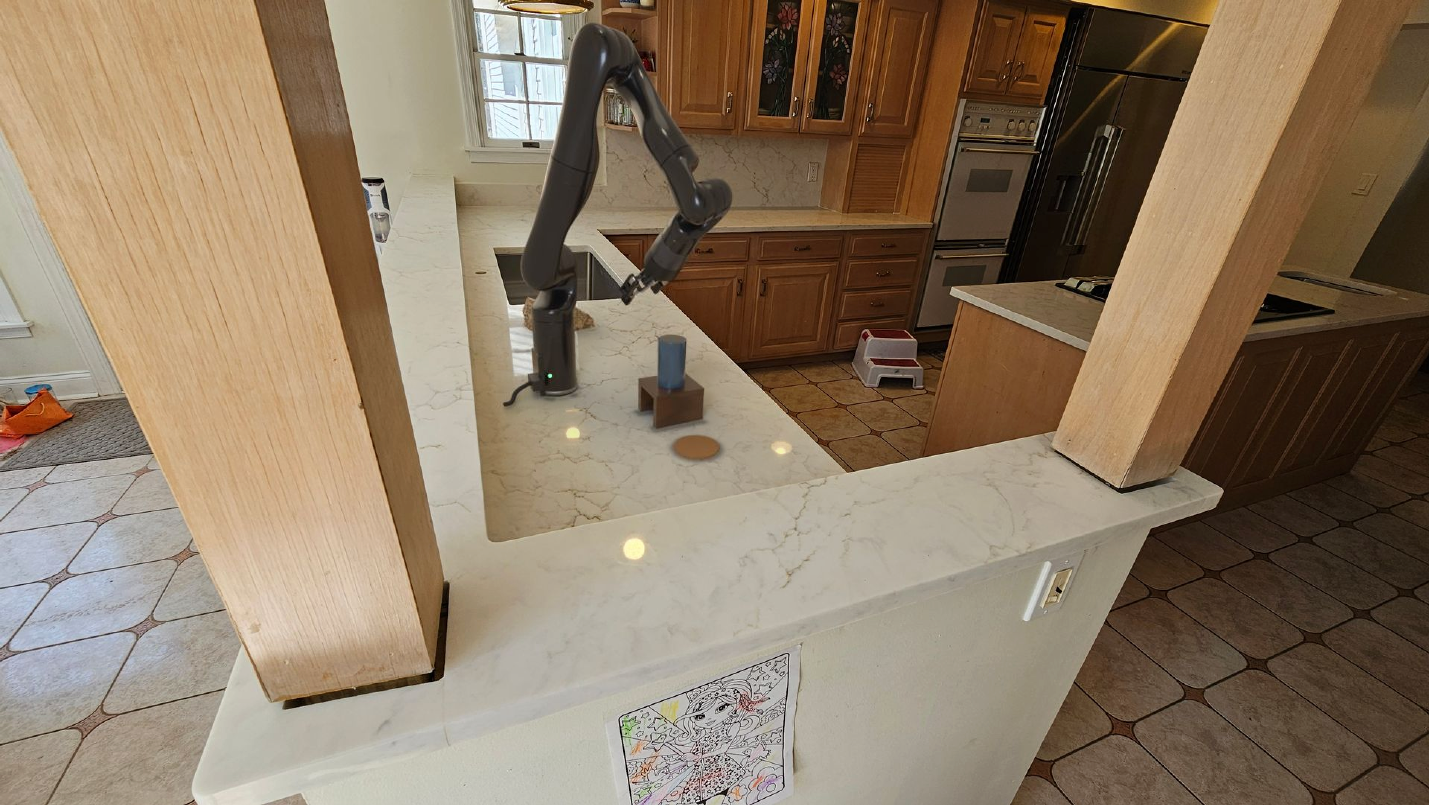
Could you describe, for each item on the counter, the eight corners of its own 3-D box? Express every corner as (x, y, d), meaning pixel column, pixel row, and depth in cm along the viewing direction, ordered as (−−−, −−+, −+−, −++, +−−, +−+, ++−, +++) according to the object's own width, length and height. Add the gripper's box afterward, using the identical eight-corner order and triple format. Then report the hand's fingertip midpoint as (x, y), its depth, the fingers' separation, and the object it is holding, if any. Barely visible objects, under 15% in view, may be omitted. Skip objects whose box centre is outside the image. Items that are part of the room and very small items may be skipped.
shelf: (656, 430, 128) (656, 396, 124) (638, 411, 136) (638, 378, 132) (702, 421, 133) (704, 388, 129) (682, 403, 141) (683, 371, 137)
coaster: (686, 463, 116) (686, 460, 116) (666, 442, 123) (666, 439, 123) (727, 454, 120) (727, 451, 120) (706, 434, 127) (706, 431, 127)
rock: (517, 351, 164) (506, 292, 164) (513, 364, 184) (502, 311, 184) (618, 338, 174) (607, 282, 175) (603, 351, 194) (593, 301, 195)
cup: (663, 390, 127) (664, 345, 123) (652, 380, 132) (653, 335, 128) (689, 386, 130) (691, 341, 126) (677, 376, 134) (679, 332, 130)
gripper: (683, 231, 129) (653, 274, 142) (631, 247, 120) (605, 291, 133) (703, 259, 128) (671, 300, 141) (652, 278, 120) (623, 319, 132)
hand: (639, 296), depth 137 cm, fingers open, 8 cm apart
